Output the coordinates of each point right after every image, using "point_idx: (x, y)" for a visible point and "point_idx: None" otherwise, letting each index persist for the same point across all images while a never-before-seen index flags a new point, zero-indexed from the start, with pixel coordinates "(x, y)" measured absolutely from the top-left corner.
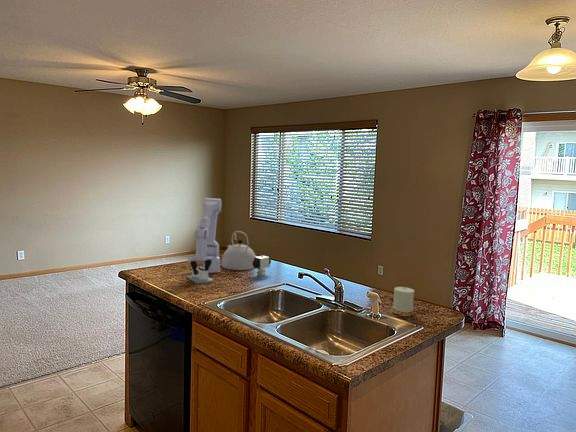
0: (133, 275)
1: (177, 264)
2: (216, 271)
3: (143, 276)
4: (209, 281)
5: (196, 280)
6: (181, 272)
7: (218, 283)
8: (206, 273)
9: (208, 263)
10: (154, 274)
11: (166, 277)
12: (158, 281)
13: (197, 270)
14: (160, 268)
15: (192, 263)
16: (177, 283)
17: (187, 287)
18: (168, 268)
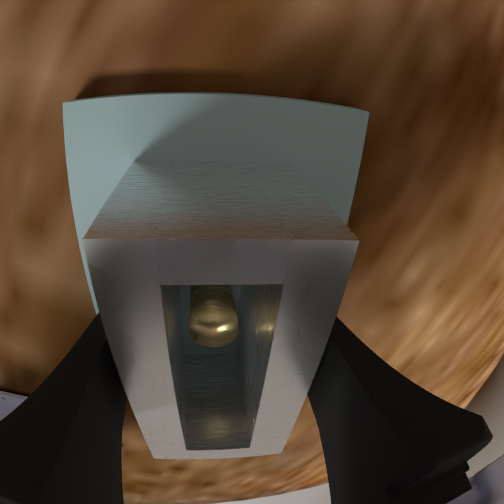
0: (466, 403)
1: (211, 498)
2: (13, 400)
3: (459, 394)
4: (139, 94)
5: (327, 185)
6: None
7: (49, 10)
8: (152, 204)
9: (35, 469)
10: None
11: (410, 379)
12: (497, 311)
13: (326, 339)
14: (313, 475)
15: (483, 445)
16: (476, 223)
17: (488, 52)
18: (281, 478)
